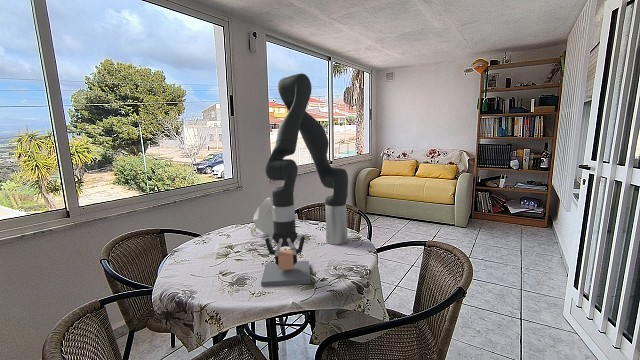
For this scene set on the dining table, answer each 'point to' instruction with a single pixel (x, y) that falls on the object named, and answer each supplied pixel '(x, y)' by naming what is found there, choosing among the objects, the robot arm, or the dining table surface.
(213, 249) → the dining table surface
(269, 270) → the mat
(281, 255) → the cube
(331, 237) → the robot arm
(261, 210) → the chicken
